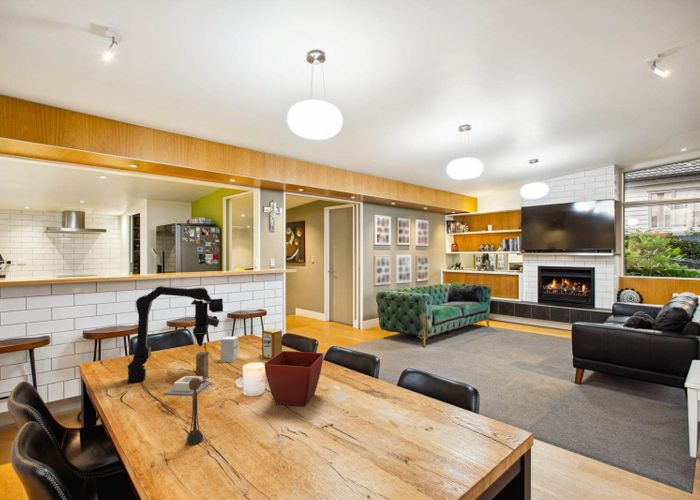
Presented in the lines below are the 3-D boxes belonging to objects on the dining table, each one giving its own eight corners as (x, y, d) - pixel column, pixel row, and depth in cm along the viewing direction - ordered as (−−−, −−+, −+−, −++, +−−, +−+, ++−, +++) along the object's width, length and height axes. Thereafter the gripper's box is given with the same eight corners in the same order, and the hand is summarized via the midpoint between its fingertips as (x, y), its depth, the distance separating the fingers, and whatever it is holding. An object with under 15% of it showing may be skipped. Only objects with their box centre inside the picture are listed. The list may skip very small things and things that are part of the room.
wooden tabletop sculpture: (200, 434, 115) (200, 373, 115) (208, 438, 112) (209, 376, 112) (183, 442, 110) (183, 378, 110) (191, 446, 107) (191, 381, 108)
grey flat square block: (163, 394, 148) (163, 385, 148) (182, 382, 162) (182, 373, 162) (195, 395, 146) (195, 386, 146) (211, 383, 160) (211, 374, 160)
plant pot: (310, 411, 131) (310, 367, 131) (263, 407, 135) (263, 363, 135) (324, 392, 150) (324, 353, 150) (282, 388, 154) (282, 350, 154)
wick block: (196, 379, 165) (196, 354, 165) (200, 376, 169) (200, 352, 169) (204, 379, 165) (204, 354, 165) (208, 377, 169) (208, 352, 169)
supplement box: (233, 362, 192) (233, 339, 192) (220, 362, 192) (220, 339, 192) (238, 358, 199) (238, 336, 200) (225, 358, 200) (225, 336, 200)
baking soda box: (281, 357, 200) (281, 330, 200) (273, 360, 195) (273, 332, 195) (270, 355, 206) (270, 328, 206) (262, 357, 200) (262, 329, 201)
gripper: (218, 314, 168) (218, 347, 168) (218, 309, 186) (218, 338, 186) (193, 316, 165) (192, 349, 164) (196, 310, 182) (195, 340, 182)
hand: (201, 344), depth 174 cm, fingers open, 9 cm apart
